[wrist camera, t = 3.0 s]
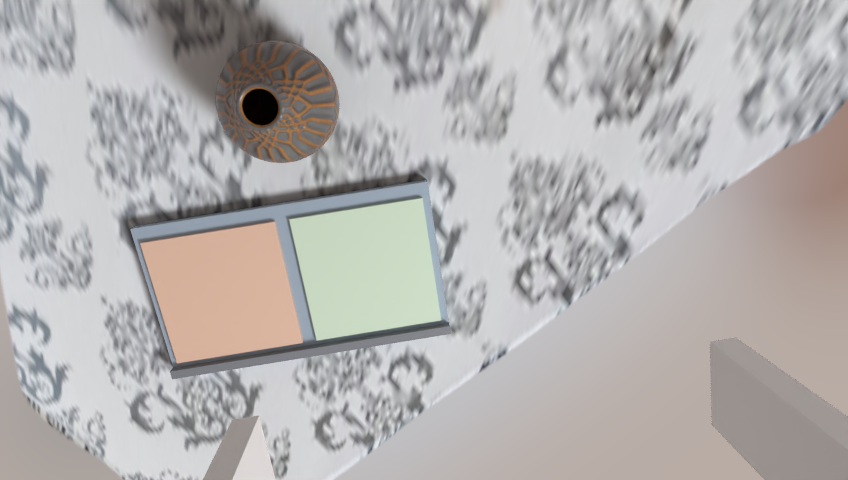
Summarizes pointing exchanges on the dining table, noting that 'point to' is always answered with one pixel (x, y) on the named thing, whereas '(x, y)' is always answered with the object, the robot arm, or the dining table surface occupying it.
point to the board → (295, 278)
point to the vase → (277, 101)
